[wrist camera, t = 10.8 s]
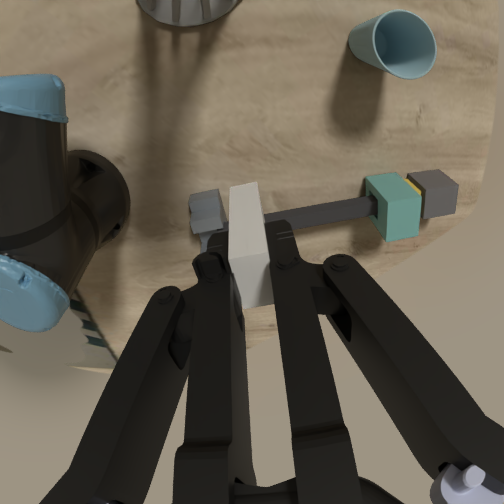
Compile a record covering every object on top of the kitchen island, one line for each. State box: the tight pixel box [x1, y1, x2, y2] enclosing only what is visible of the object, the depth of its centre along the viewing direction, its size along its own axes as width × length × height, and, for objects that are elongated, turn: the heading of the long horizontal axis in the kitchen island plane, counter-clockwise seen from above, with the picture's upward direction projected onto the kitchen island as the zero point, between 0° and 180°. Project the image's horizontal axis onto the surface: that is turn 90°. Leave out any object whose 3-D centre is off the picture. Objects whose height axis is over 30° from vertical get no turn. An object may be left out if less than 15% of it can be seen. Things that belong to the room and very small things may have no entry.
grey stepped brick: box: [188, 189, 227, 254], centre depth 44 cm, size 4×10×5 cm, turn 11°
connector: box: [408, 169, 459, 219], centre depth 42 cm, size 6×5×6 cm
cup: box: [348, 10, 437, 79], centre depth 28 cm, size 8×8×10 cm
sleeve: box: [365, 172, 422, 242], centre depth 41 cm, size 5×6×8 cm
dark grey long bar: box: [217, 179, 421, 233], centre depth 42 cm, size 34×4×4 cm, turn 101°
